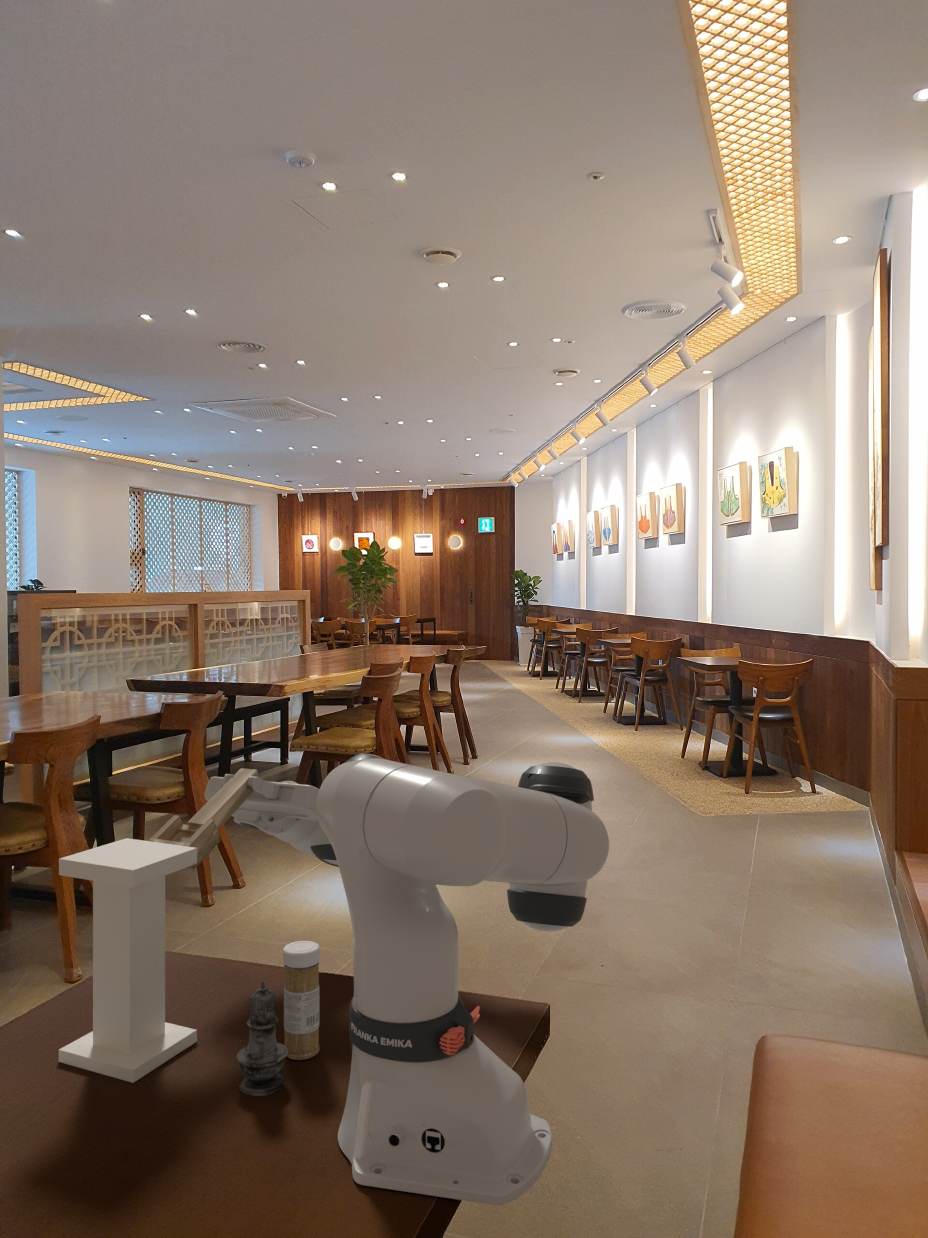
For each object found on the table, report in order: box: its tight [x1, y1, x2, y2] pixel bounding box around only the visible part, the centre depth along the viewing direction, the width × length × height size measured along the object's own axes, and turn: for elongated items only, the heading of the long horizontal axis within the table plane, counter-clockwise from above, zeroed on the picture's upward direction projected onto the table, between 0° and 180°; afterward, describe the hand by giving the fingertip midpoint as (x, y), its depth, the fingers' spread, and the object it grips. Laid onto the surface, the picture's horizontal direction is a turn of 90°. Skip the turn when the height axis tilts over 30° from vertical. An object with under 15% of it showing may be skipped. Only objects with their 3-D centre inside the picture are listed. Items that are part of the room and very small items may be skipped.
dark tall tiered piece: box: [236, 981, 288, 1097], centre depth 103 cm, size 6×6×12 cm
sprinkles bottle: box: [282, 940, 321, 1061], centre depth 110 cm, size 5×5×14 cm
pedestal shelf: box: [58, 837, 198, 1084], centre depth 110 cm, size 12×11×25 cm
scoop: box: [147, 767, 261, 870], centre depth 125 cm, size 7×19×4 cm, turn 156°
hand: (239, 780), depth 130 cm, fingers closed on scoop, 3 cm apart
